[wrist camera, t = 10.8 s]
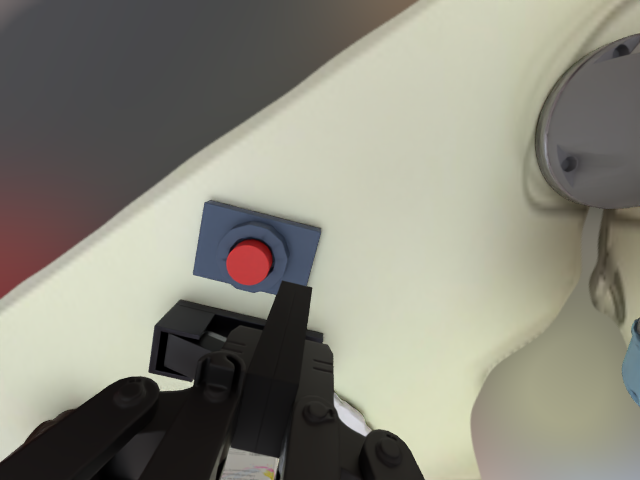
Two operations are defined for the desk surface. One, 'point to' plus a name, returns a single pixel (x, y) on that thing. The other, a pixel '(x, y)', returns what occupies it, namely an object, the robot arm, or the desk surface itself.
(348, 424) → the white tapered shape
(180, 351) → the stapler arm
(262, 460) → the ink box
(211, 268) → the button housing
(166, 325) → the stapler base
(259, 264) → the call button
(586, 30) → the desk surface
